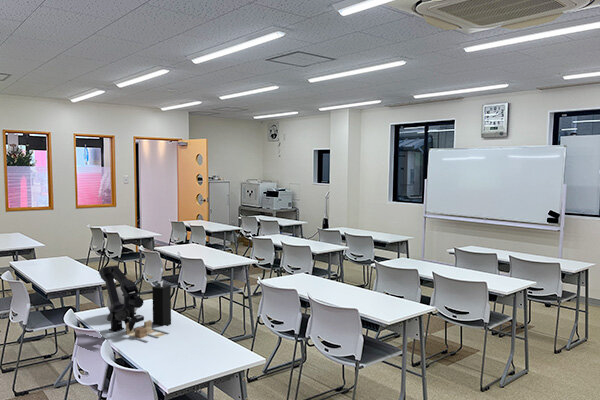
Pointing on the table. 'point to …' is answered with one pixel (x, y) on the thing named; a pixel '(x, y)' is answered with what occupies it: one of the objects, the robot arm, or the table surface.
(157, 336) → the lane board
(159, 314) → the black rectangular block
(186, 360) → the table surface
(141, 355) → the table surface
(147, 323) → the strip broken
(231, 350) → the table surface
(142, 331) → the cube
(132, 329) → the tan piece
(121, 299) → the moon model
